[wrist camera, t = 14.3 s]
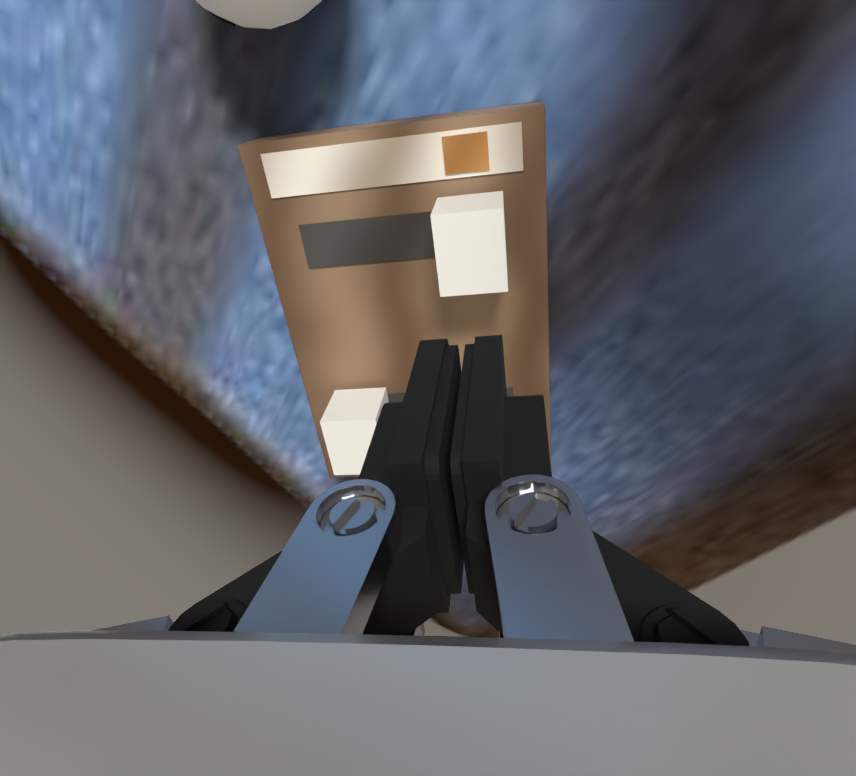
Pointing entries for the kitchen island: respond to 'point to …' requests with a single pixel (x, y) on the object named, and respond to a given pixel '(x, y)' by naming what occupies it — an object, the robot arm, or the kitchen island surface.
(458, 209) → the tab
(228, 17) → the seamed sphere
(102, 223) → the kitchen island surface
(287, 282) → the switch board
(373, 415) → the tab
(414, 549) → the robot arm
